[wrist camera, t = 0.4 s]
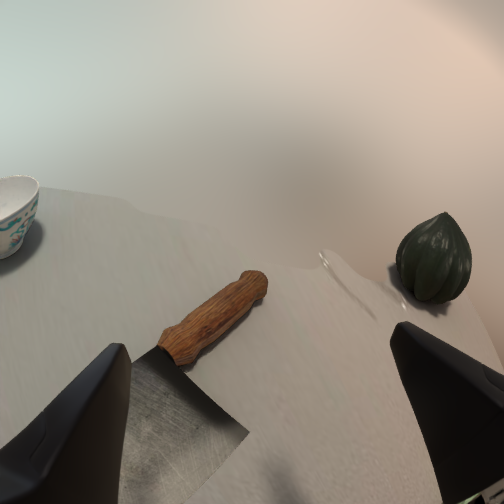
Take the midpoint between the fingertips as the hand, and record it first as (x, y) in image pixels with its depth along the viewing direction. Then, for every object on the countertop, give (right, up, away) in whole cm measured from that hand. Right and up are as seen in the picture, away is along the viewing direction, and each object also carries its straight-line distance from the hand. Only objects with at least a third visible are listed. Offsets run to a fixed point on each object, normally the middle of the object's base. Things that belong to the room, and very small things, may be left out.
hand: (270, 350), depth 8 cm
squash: (+30, -4, +35) cm, 46 cm away
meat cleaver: (-6, -10, +12) cm, 17 cm away
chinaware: (-36, +4, +19) cm, 41 cm away
